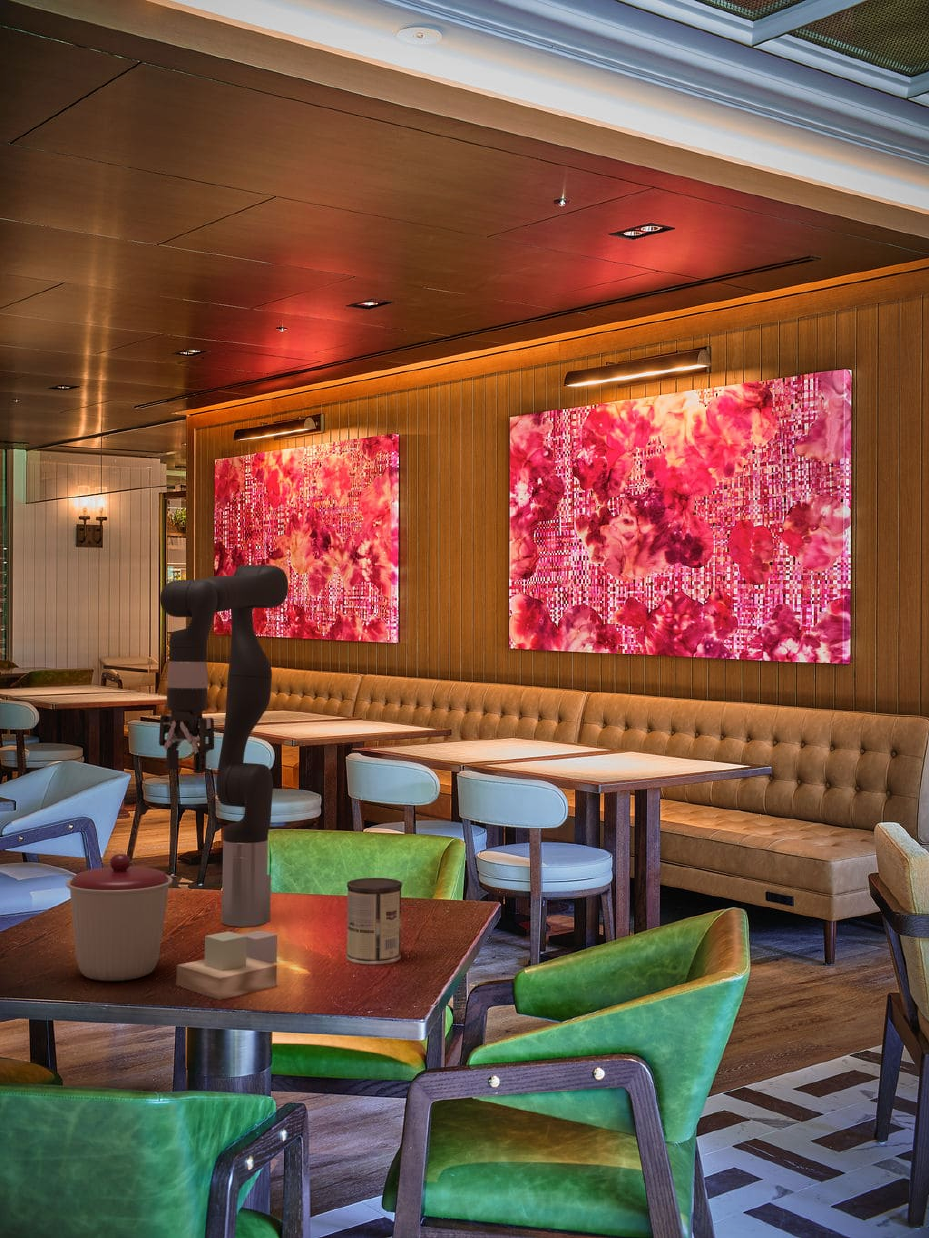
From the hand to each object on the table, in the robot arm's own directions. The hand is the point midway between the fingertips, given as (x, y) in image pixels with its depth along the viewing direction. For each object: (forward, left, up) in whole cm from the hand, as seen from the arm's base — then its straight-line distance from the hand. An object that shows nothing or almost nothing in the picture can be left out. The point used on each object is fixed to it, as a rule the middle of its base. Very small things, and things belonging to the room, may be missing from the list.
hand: (185, 771), depth 238 cm
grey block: (-6, +15, -34) cm, 38 cm away
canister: (+17, +5, -34) cm, 39 cm away
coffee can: (-23, +28, -34) cm, 50 cm away
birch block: (+8, +24, -35) cm, 43 cm away
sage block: (+8, +24, -31) cm, 40 cm away
